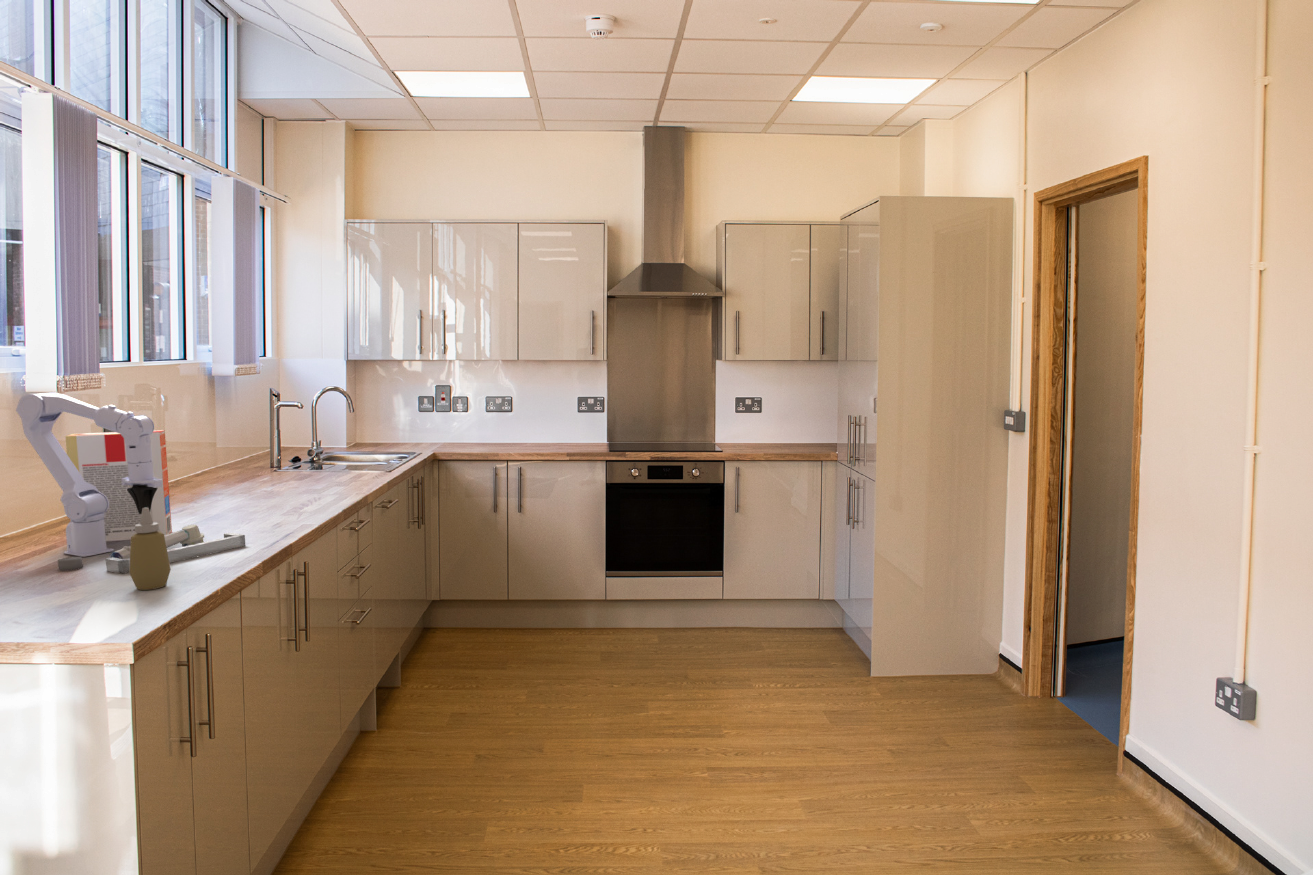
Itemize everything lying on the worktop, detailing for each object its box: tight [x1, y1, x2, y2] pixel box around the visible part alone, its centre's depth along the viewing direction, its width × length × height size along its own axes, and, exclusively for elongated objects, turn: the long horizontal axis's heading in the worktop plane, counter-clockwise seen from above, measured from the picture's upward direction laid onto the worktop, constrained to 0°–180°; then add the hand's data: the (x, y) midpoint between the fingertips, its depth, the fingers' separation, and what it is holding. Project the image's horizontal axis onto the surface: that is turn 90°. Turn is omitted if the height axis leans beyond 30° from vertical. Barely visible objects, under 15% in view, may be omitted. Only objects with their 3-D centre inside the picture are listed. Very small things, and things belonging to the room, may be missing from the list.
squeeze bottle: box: [129, 508, 172, 591], centre depth 201 cm, size 8×8×18 cm
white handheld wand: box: [109, 524, 205, 559], centre depth 234 cm, size 5×7×25 cm
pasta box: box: [65, 429, 173, 542], centre depth 256 cm, size 23×8×30 cm, turn 109°
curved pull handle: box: [105, 532, 246, 575], centre depth 230 cm, size 7×33×3 cm, turn 151°
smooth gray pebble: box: [57, 556, 84, 572], centre depth 221 cm, size 5×5×2 cm
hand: (144, 513), depth 236 cm, fingers closed
